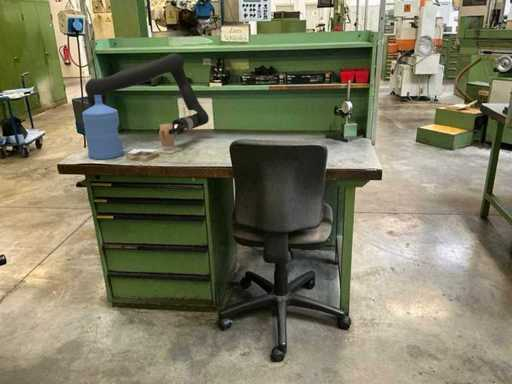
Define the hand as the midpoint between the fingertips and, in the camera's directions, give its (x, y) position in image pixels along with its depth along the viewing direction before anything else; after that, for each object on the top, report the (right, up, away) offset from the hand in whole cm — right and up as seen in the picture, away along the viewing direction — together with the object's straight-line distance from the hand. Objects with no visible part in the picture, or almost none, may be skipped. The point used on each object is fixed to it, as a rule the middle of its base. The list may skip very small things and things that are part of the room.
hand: (163, 131), depth 197 cm
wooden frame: (-8, -13, -5) cm, 16 cm away
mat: (+1, -9, +5) cm, 10 cm away
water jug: (-27, -11, 0) cm, 29 cm away
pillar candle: (+1, -6, +4) cm, 7 cm away
